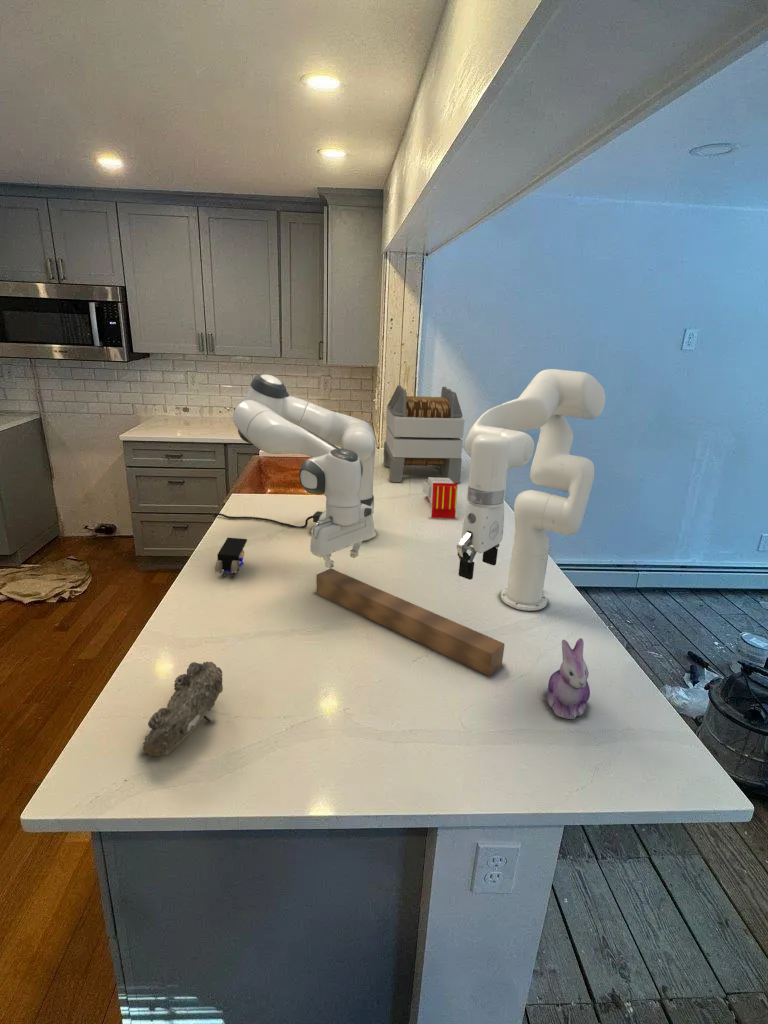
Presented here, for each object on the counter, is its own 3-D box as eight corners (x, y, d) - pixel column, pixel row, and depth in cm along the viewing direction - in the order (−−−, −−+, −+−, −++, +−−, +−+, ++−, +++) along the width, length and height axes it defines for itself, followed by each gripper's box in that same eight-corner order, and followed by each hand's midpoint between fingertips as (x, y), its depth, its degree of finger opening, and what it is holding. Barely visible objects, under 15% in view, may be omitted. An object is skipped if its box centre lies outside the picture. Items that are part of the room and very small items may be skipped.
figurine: (568, 727, 109) (581, 661, 104) (532, 696, 118) (542, 634, 113) (603, 714, 113) (617, 650, 108) (566, 685, 122) (577, 624, 117)
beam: (316, 593, 156) (316, 574, 154) (330, 586, 160) (330, 568, 158) (489, 676, 124) (492, 653, 122) (501, 665, 128) (504, 643, 126)
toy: (450, 473, 241) (461, 484, 212) (448, 504, 244) (459, 519, 214) (421, 472, 240) (429, 483, 211) (420, 503, 243) (427, 518, 214)
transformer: (382, 463, 289) (386, 382, 275) (445, 464, 293) (451, 384, 279) (390, 482, 257) (394, 392, 243) (460, 483, 261) (468, 394, 247)
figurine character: (238, 584, 162) (249, 557, 175) (236, 562, 158) (247, 536, 172) (215, 584, 161) (227, 556, 175) (212, 561, 158) (225, 535, 171)
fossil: (172, 663, 116) (224, 630, 111) (205, 693, 119) (256, 663, 114) (117, 750, 97) (177, 715, 92) (158, 783, 100) (218, 752, 95)
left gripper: (322, 526, 136) (322, 578, 141) (377, 506, 151) (375, 554, 156) (304, 519, 140) (304, 570, 144) (360, 501, 155) (358, 547, 159)
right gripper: (479, 509, 108) (471, 589, 114) (521, 490, 121) (512, 563, 127) (447, 500, 113) (440, 577, 118) (490, 482, 125) (483, 553, 131)
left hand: (342, 561), depth 150 cm, fingers open, 8 cm apart
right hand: (477, 570), depth 123 cm, fingers open, 9 cm apart
